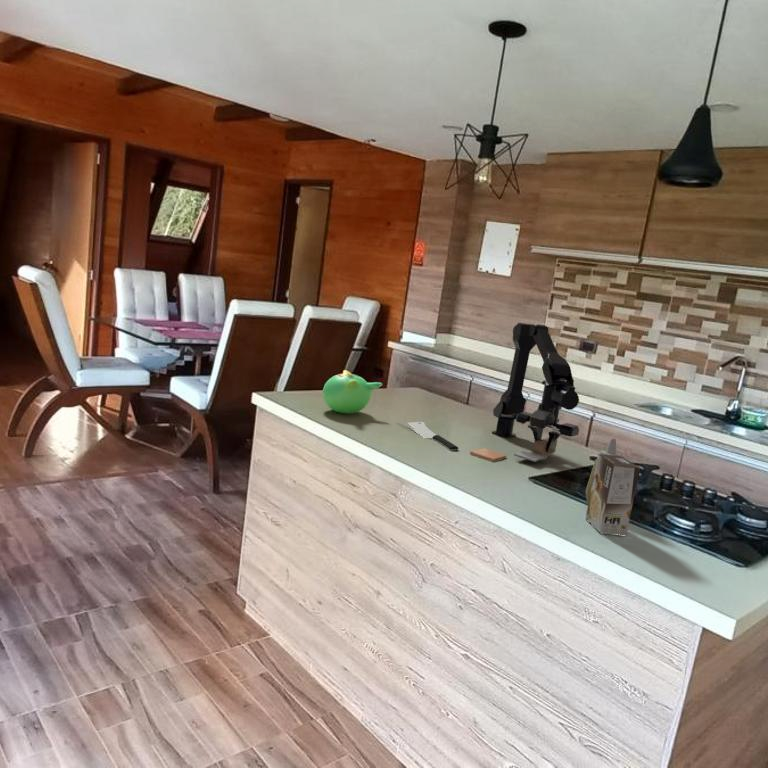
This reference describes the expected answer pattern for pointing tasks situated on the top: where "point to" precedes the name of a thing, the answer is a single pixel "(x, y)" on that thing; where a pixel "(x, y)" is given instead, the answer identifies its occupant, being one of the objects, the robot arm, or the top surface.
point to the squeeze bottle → (609, 451)
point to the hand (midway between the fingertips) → (542, 450)
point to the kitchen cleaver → (431, 435)
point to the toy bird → (348, 392)
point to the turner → (537, 451)
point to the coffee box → (612, 494)
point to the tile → (488, 454)
